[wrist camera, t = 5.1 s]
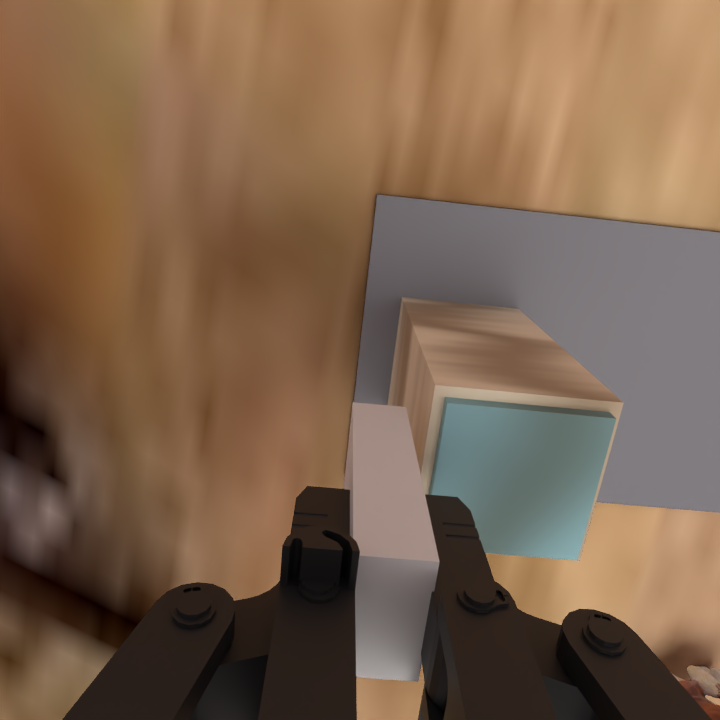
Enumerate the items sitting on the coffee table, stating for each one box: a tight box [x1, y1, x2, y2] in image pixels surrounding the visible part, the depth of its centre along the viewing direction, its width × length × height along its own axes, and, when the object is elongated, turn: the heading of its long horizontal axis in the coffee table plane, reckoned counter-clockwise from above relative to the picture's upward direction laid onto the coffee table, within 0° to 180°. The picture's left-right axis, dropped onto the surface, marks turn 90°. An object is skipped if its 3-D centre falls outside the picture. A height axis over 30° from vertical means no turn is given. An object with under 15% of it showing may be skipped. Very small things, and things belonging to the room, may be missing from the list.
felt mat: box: [354, 194, 720, 513], centre depth 26 cm, size 22×13×1 cm, turn 84°
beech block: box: [387, 297, 624, 561], centre depth 20 cm, size 5×5×10 cm
